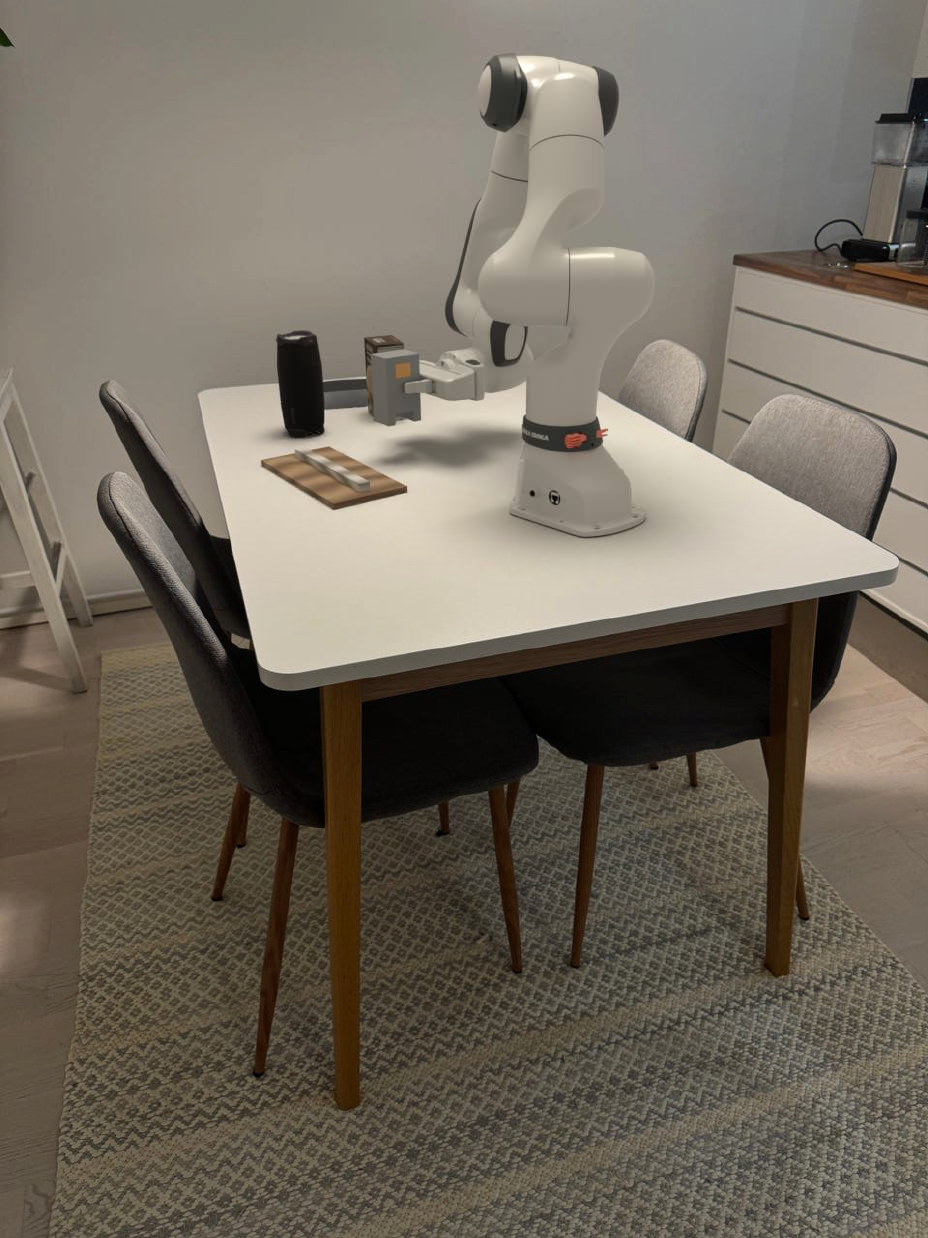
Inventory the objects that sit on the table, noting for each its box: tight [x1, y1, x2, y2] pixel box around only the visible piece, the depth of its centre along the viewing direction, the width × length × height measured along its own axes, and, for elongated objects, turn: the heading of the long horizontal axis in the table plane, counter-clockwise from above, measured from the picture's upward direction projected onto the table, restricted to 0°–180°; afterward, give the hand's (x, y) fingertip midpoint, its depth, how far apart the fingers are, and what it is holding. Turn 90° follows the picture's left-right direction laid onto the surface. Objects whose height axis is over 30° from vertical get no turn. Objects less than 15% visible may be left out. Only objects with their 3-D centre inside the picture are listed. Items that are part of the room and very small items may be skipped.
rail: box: [260, 446, 408, 510], centre depth 162 cm, size 28×14×2 cm, turn 35°
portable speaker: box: [275, 329, 326, 439], centre depth 182 cm, size 9×9×20 cm
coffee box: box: [363, 334, 407, 421], centre depth 194 cm, size 9×6×16 cm
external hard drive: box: [323, 378, 368, 411], centre depth 209 cm, size 13×19×4 cm
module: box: [371, 349, 422, 428], centre depth 166 cm, size 5×7×12 cm
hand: (394, 384), depth 166 cm, fingers closed on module, 5 cm apart
